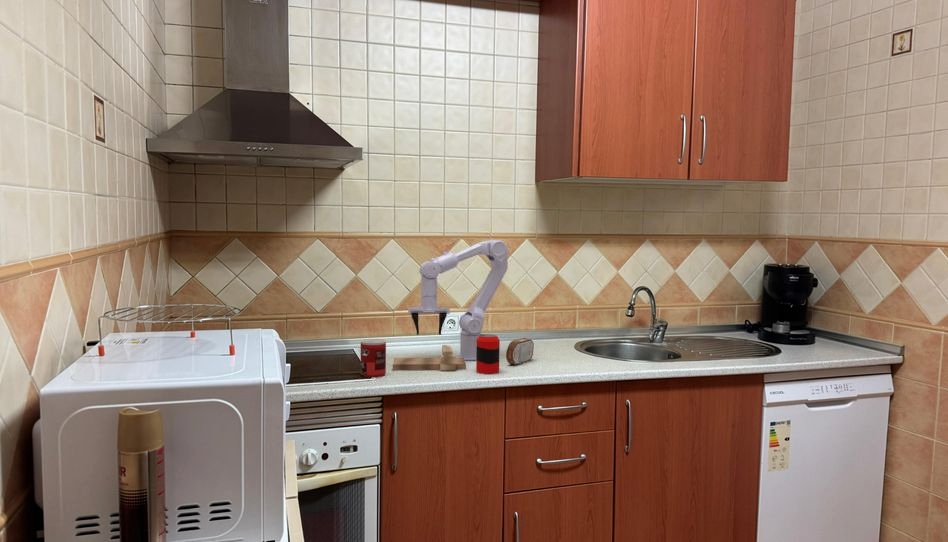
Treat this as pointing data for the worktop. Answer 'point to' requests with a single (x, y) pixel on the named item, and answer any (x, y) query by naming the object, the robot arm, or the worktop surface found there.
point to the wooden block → (447, 358)
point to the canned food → (373, 357)
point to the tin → (519, 351)
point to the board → (423, 363)
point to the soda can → (487, 354)
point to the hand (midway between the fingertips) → (428, 334)
